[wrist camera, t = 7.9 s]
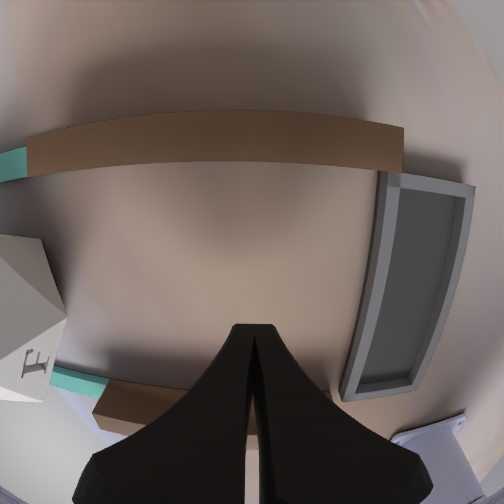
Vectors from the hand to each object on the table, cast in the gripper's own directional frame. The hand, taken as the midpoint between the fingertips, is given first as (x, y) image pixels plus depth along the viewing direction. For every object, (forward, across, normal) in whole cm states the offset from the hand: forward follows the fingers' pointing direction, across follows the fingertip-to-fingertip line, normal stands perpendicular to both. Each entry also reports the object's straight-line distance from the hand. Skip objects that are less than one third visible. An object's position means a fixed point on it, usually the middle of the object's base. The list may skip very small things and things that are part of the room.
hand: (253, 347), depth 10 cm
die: (+4, +12, 0) cm, 13 cm away
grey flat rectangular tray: (+3, -7, 0) cm, 8 cm away
